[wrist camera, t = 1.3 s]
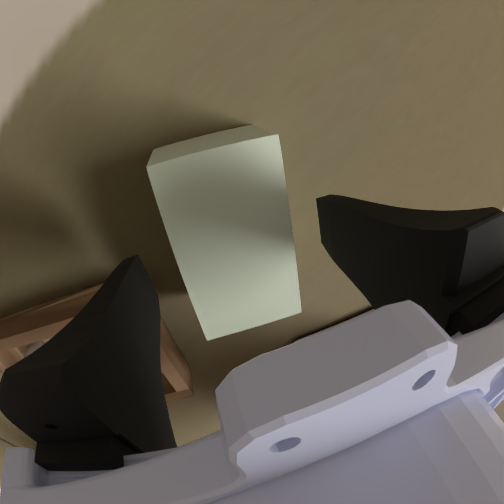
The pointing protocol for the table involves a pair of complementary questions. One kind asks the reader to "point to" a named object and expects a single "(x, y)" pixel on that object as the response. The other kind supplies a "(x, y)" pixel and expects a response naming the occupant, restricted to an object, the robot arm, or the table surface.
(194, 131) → the table surface
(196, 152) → the pale green block
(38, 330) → the wooden tray
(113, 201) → the table surface
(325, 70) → the table surface
